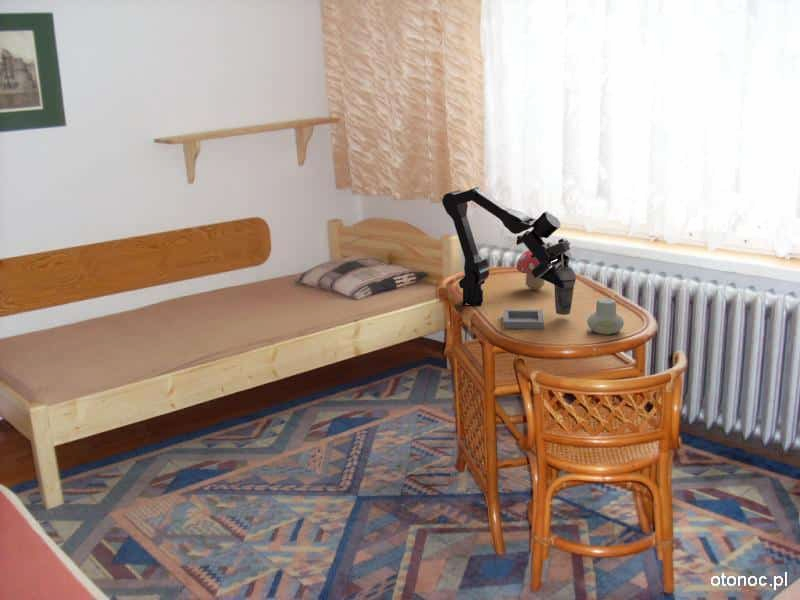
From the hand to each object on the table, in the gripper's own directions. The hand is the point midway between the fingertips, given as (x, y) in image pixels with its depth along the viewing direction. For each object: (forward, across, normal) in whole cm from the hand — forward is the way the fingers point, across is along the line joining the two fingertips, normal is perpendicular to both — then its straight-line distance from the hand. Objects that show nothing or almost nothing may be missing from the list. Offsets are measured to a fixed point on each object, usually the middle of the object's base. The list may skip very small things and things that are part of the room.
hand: (568, 284), depth 281 cm
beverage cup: (+6, 0, +8) cm, 10 cm away
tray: (+1, -10, +16) cm, 19 cm away
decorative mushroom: (-8, +25, +25) cm, 37 cm away
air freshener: (+19, -5, -2) cm, 20 cm away
